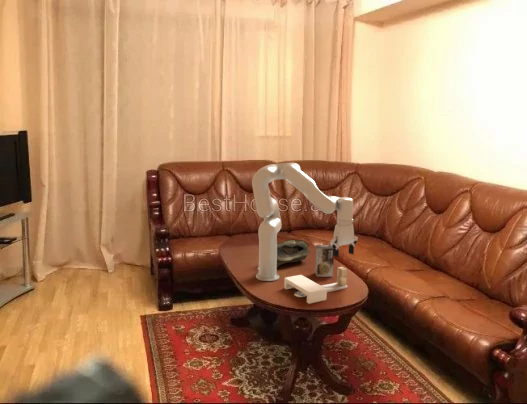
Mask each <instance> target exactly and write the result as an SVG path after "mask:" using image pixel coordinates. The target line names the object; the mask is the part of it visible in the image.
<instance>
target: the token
mask: <svg viewBox="0 0 527 404" xmlns="http://www.w3.org/2000/svg"><path fill="white" fill-rule="evenodd" d="M293 293H294V294H293V295H294V296H295V297H297V298H304V297H307V295H306V294H304V293H303V292H301V291H295V292H293Z"/></svg>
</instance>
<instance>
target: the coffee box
mask: <svg viewBox="0 0 527 404" xmlns="http://www.w3.org/2000/svg"><path fill="white" fill-rule="evenodd" d="M333 253H334V249H333V247H332V246H331V244H329V245H328V244H319V245H318V244H316V246H315V272H314V273H315V276H316V277H326V278H327V277H334V260H335V259H334V258H335V256H334V254H333Z"/></svg>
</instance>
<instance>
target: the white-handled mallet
mask: <svg viewBox="0 0 527 404" xmlns="http://www.w3.org/2000/svg"><path fill="white" fill-rule="evenodd" d="M336 273H337V274H336V282H333V283H329V284H322V285H321V286H322V287H324V288H326V289H327V293H329V292H335V291H340V290H344V289H348V285H347V279H348V268H346V267H344V266H339V267H337V271H336Z"/></svg>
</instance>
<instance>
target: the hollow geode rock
mask: <svg viewBox="0 0 527 404" xmlns="http://www.w3.org/2000/svg"><path fill="white" fill-rule="evenodd" d="M309 248H310V245H309V244H308V243H307V241H305V240H302V239H300V240H299V239H298V240H297V239H294V238H293V239H288V240H285V241H283V242H277V268H278V267H280V266H281V265H283V264H289V263H296V262H297V263H298V262H301V261H304V260H306V259H307V256H308V255H309V254H310V252H311V251H310V250H309Z"/></svg>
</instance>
